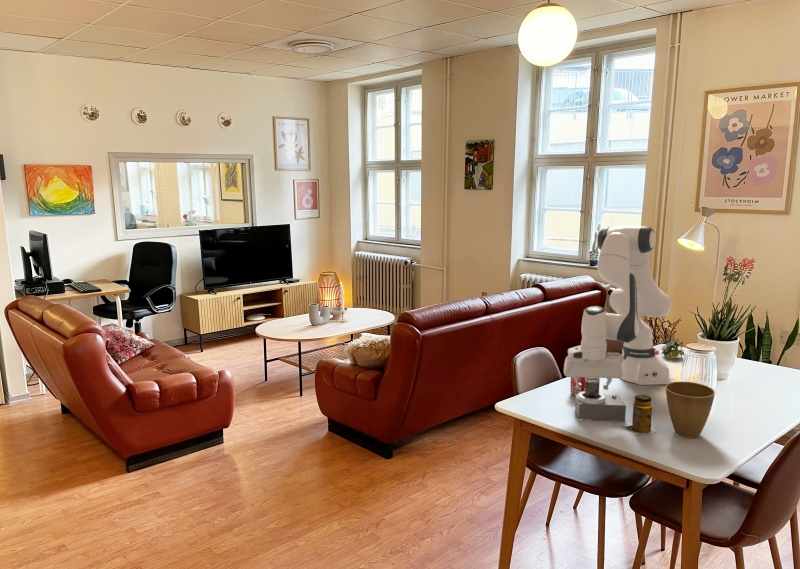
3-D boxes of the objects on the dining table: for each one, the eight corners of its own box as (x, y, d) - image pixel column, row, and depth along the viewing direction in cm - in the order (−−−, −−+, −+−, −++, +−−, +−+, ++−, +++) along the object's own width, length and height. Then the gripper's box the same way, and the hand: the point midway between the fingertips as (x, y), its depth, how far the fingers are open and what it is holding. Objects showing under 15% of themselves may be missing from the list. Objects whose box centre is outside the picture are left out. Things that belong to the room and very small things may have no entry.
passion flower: (665, 366, 294) (665, 343, 299) (688, 366, 287) (689, 342, 292) (657, 357, 287) (658, 334, 291) (682, 357, 280) (682, 333, 285)
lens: (597, 397, 222) (598, 376, 220) (599, 402, 217) (600, 380, 215) (583, 396, 222) (584, 376, 221) (585, 401, 217) (586, 380, 216)
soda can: (586, 391, 245) (587, 363, 243) (590, 397, 238) (591, 368, 236) (568, 391, 246) (569, 362, 244) (571, 397, 239) (572, 368, 237)
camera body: (619, 411, 224) (620, 391, 222) (625, 421, 214) (626, 401, 213) (575, 409, 226) (575, 390, 225) (578, 419, 216) (579, 399, 215)
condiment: (656, 432, 204) (658, 399, 202) (634, 435, 202) (636, 401, 200) (643, 424, 211) (645, 392, 209) (621, 427, 209) (623, 394, 207)
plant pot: (657, 424, 211) (659, 381, 208) (701, 425, 209) (704, 381, 206) (671, 442, 196) (674, 396, 193) (719, 444, 194) (722, 396, 192)
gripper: (621, 350, 218) (620, 386, 220) (563, 349, 221) (562, 385, 223) (625, 355, 212) (623, 392, 214) (565, 353, 215) (564, 390, 217)
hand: (592, 388), depth 219 cm, fingers open, 8 cm apart
